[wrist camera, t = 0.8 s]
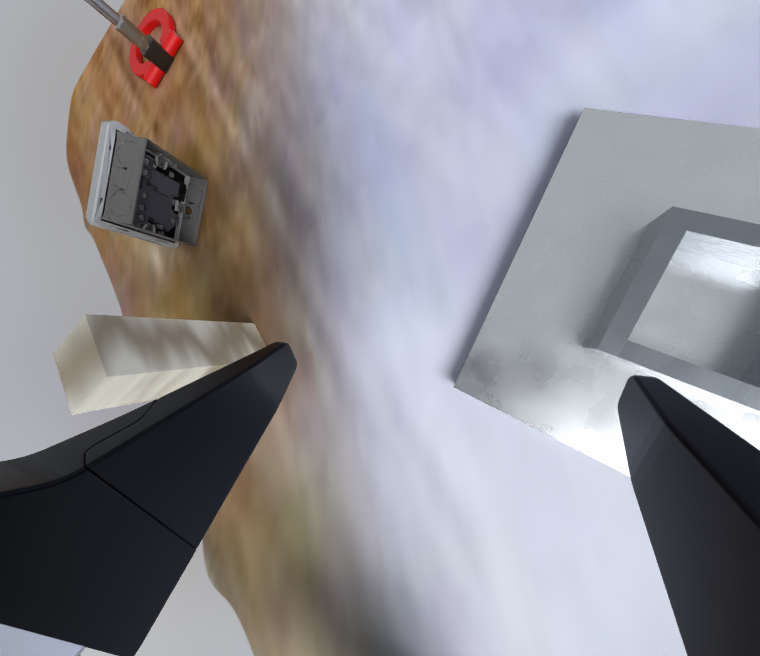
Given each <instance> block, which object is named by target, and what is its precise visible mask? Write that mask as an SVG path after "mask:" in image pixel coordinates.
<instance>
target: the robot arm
mask: <svg viewBox="0 0 760 656" xmlns="http://www.w3.org/2000/svg"><path fill="white" fill-rule="evenodd" d="M296 367H297V362H296V359H295V357H294V354H293V352H292V350H291V348H290V346H289V345H288V344H287V343H283V342H275V343H272V344H270V345H268V346H266V347H264V348H262V349H260V350H258V351H256V352H254V353H252V354H250V355H248V356H245V357H243V358H241V359H239V360H237V361H235V362H233V363H231V364H229V365H227V366H225V367H223V368H221V369H218V370H216V371H214V372H212V373H210V374H208V375H206V376H204V377H202V378H200V379H198V380H196V381H194V382H191V383H189V384H187V385H185V386H183V387H181V388H179V389H177V390H175V391H173V392H171V393H169V394H167V395H164V396H162V397H160V398H159V399H156V400H154V401H152V402H150V403H148V404H146V405H144V406H141V407H139V408H137V409H135V410H133V411H131V412H129V413H127V414H124V415H122V416H120V417H118V418H115V419H113V420H111V421H109V422H106V423H104V424H102V425H100V426H97V427H95V428H93V429H91V430H88V431H86V432H84V433H81V434H79V435H77V436H74V437H72V438H70V439H67V440H65V441H63V442H61V443H58V444H56V445H54V446H51V447H49V448H47V449H44V450H42V451H39V452H37V453H34V454H31V455H28V456H25V457H21V458H17V459H13V460H7V461H1V462H0V656H80V654H81V653H82V651H83V650H84V649H85V648H86V647H88V648H92V649H96V650H99V651H103V652H106V653H110V654H114V655H118V656H134V655H135V654H136V652H137V651H138V649H139V648H140V646H141V644H142V643H143V641H144V639H145V638H146V636H147V634H148V633H149V631H150V629H151V627H152V626H153V624H154V622H155V620H156V619H157V617H158V615H159V613H160V612H161V610H162V608H163V607H164V605H165V603H166V601H167V599H168V598H169V596H170V594H171V593H172V591H173V589H174V587H175V586H176V584H177V582H178V581H179V579H180V577H181V575H182V574H183V572H184V570H185V568H186V567H187V565H188V563H189V562H190V560H191V558H192V556H193V555H194V553H195V551H196V548H197V547H198V545H199V544H200V542H201V540H202V539H203V537H204V535H205V533H206V532H207V530H208V528H209V526H210V525H211V523H212V521H213V520H214V518H215V516H216V514H217V513H218V511H219V509H220V507H221V506H222V504H223V502H224V501H225V499H226V497H227V495H228V494H229V492H230V490H231V488H232V487H233V485H234V483H235V482H236V480H237V478H238V476H239V475H240V473H241V471H242V469H243V468H244V466H245V464H246V462H247V461H248V459H249V457H250V456H251V454H252V452H253V450H254V449H255V447H256V445H257V443H258V442H259V440H260V438H261V437H262V435H263V433H264V431H265V430H266V428H267V426H268V424H269V423H270V421H271V419H272V418H273V416H274V414H275V412H276V410H277V409H278V407H279V405H280V403H281V400H282V398H283V396H284V394H285V392H286V390H287V387H288V385H289V383H290V381H291V379H292V376H293V374H294V372H295V370H296ZM618 415H619V420H620V426H621V431H622V436H623V442H624V447H625V452H626V458H627V463H628V468H629V473H630V478H631V481H632V485H633V488H634V492H635V495H636V498H637V501H638V504H639V507H640V510H641V513H642V516H643V520H644V523H645V526H646V529H647V532H648V535H649V538H650V541H651V544H652V547H653V551H654V554H655V557H656V560H657V563H658V566H659V569H660V572H661V575H662V578H663V581H664V585H665V588H666V591H667V594H668V597H669V600H670V603H671V606H672V609H673V612H674V615H675V619H676V622H677V625H678V628H679V631H680V634H681V637H682V640H683V643H684V646H685V649H686V653H687V656H760V450H759V449H757V448H756V447H755V446H753V445H752V444H750V443H749V442H748V441H746V440H745V439H743V438H742V437H741V436H739V435H738V434H736V433H735V432H733V431H732V430H731V429H729V428H728V427H726V426H725V425H724V424H722V423H721V422H719V421H718V420H717V419H715V418H714V417H712V416H711V415H710V414H708V413H707V412H705V411H704V410H702V409H701V408H700V407H698V406H697V405H695V404H694V403H693V402H691V401H690V400H688V399H687V398H686V397H684V396H683V395H681V394H680V393H679V392H677V391H676V390H674V389H673V388H672V387H670V386H669V385H667V384H666V383H664V382H663V381H662V380H660V379H658V378H656V377H651V376H640V375H633V376H630V377H629V378H628V380H627V382H626V384H625V387H624V389H623V391H622V394H621V396H620V398H619V401H618Z"/></svg>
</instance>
